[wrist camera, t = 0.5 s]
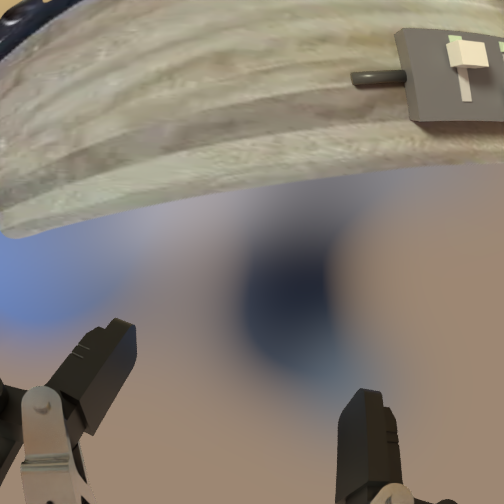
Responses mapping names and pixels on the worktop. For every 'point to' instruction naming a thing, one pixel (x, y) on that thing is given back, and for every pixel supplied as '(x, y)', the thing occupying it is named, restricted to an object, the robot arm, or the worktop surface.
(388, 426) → the robot arm
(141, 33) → the worktop surface
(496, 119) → the slider control box
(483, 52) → the switch
